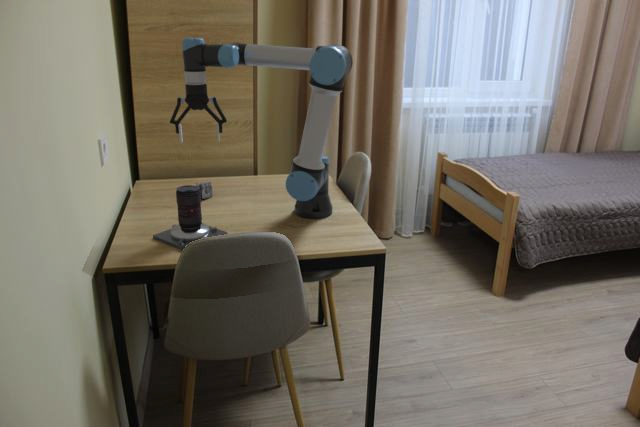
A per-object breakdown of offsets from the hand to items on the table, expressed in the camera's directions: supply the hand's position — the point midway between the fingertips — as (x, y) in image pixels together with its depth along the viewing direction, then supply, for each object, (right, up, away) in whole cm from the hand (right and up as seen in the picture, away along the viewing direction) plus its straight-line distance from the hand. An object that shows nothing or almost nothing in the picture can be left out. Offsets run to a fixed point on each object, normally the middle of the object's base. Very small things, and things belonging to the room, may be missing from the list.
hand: (200, 142), depth 190 cm
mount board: (-1, -35, -11) cm, 37 cm away
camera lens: (0, -32, -12) cm, 34 cm away
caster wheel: (-6, -19, +31) cm, 37 cm away
